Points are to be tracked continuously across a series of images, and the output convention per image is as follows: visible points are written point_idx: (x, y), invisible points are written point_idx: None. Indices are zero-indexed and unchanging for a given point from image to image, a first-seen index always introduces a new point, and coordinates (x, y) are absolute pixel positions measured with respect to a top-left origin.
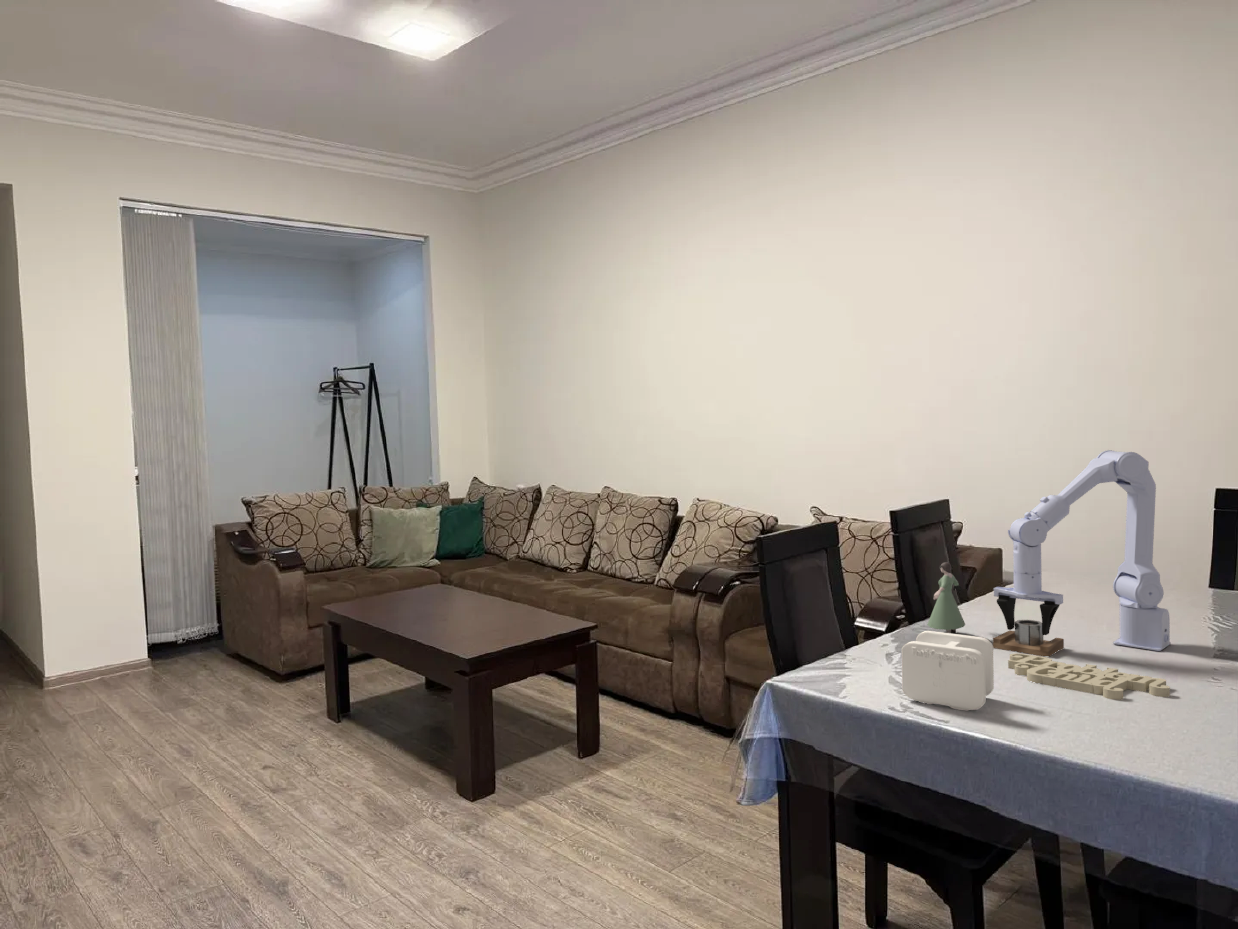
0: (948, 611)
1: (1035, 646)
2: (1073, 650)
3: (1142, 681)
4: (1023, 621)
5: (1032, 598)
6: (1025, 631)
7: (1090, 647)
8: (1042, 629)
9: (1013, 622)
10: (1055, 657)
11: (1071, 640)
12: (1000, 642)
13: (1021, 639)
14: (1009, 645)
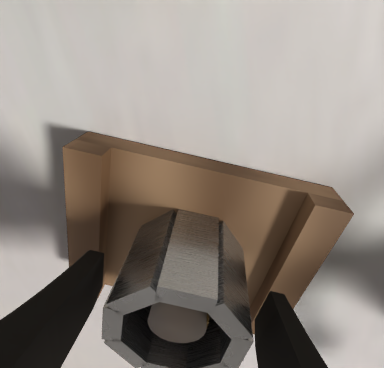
0: None
1: (149, 204)
2: (57, 254)
3: None
4: (210, 360)
5: None
6: (183, 259)
7: (35, 294)
8: (84, 271)
9: (261, 349)
10: (65, 144)
11: None
12: (307, 199)
13: (209, 230)
14: (260, 180)
